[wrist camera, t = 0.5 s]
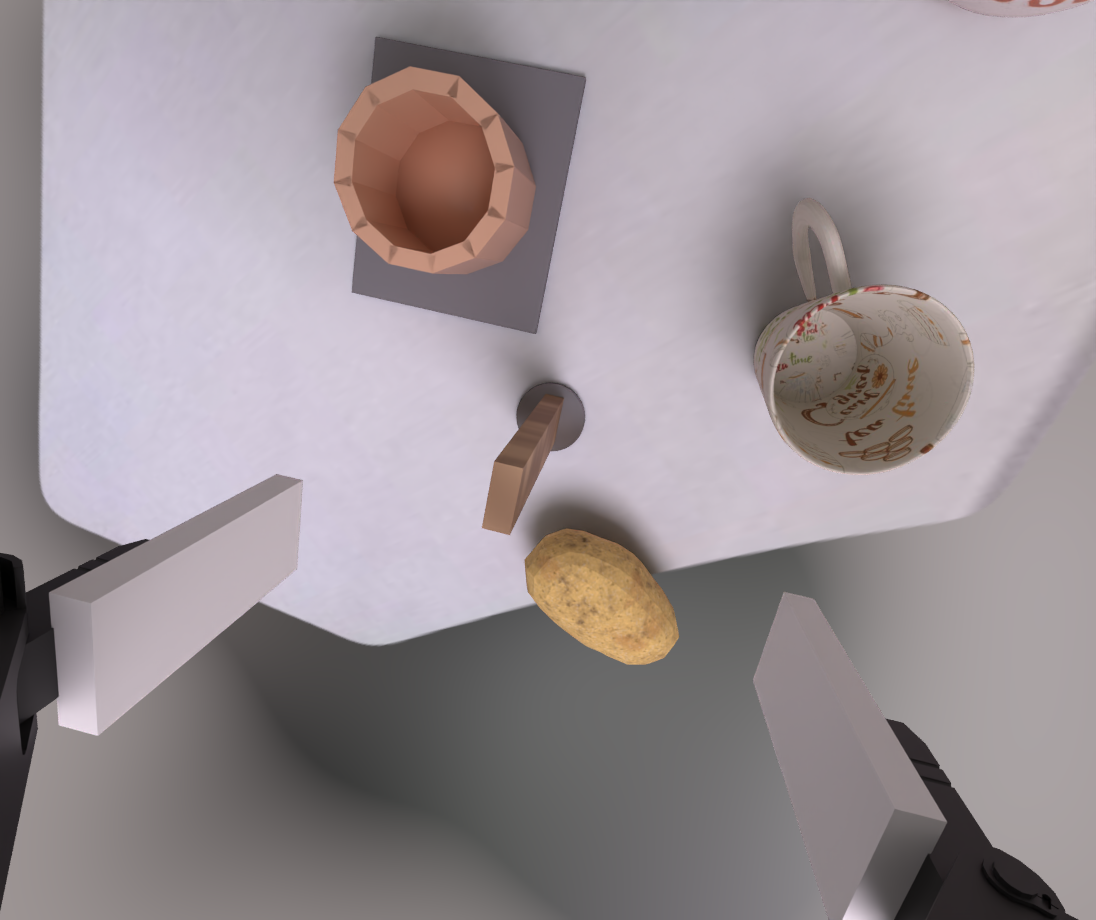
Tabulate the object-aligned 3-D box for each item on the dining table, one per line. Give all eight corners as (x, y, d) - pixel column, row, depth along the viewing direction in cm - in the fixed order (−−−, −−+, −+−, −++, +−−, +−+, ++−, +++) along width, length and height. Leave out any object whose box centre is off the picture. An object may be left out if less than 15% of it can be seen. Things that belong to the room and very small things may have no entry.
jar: (397, 94, 33) (343, 52, 27) (547, 124, 33) (527, 89, 27) (380, 255, 36) (328, 250, 30) (518, 285, 36) (494, 287, 29)
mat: (378, 39, 33) (375, 36, 33) (586, 79, 32) (585, 77, 32) (354, 292, 38) (351, 292, 37) (536, 333, 37) (535, 333, 36)
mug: (752, 440, 37) (793, 496, 27) (698, 239, 34) (723, 224, 24) (893, 400, 35) (990, 446, 25) (849, 184, 32) (939, 145, 23)
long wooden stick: (524, 376, 38) (458, 435, 23) (591, 391, 37) (566, 461, 23) (512, 440, 39) (442, 533, 25) (576, 456, 39) (543, 559, 24)
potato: (580, 486, 39) (571, 524, 33) (697, 595, 40) (708, 649, 35) (515, 550, 41) (495, 595, 35) (628, 651, 43) (627, 711, 37)
